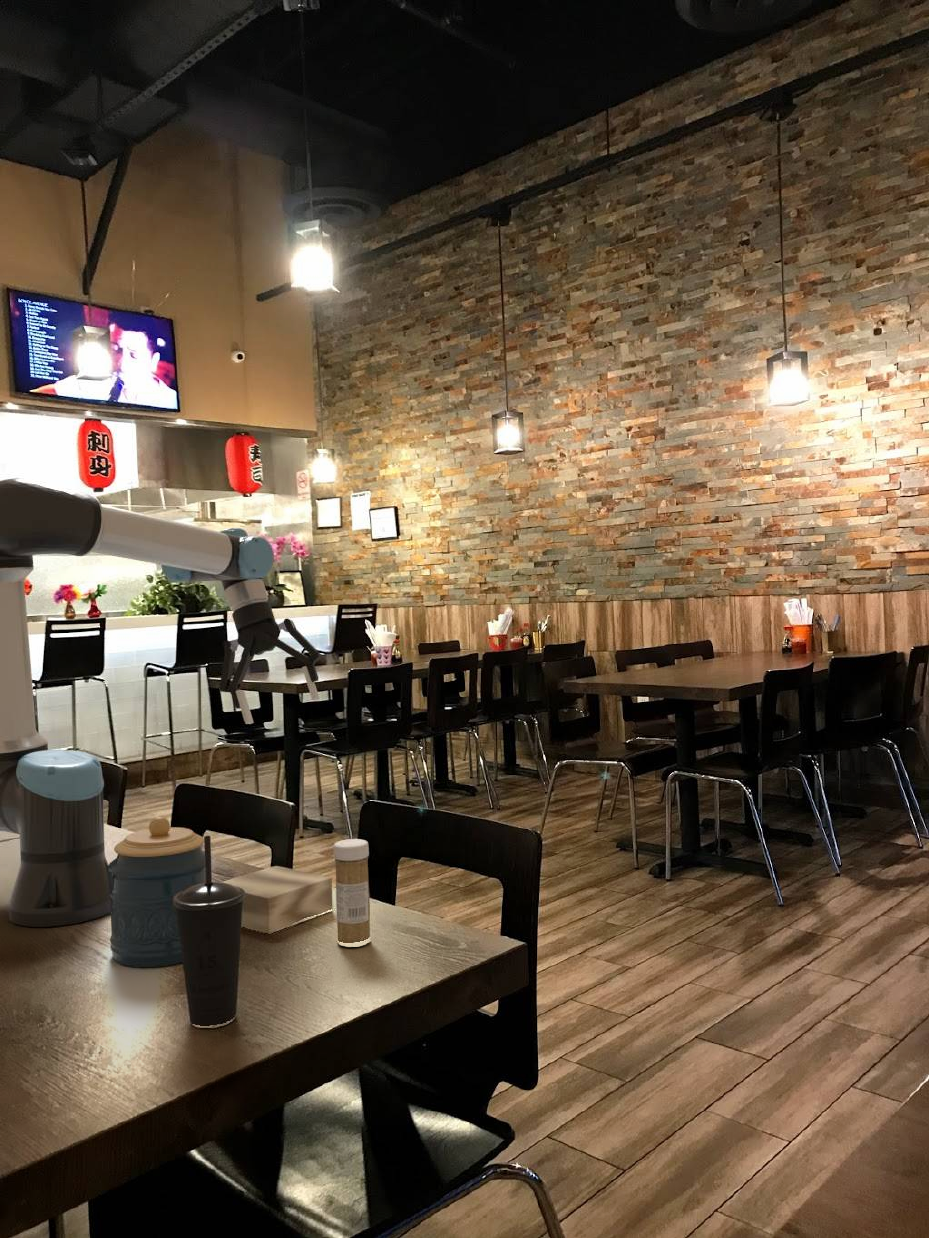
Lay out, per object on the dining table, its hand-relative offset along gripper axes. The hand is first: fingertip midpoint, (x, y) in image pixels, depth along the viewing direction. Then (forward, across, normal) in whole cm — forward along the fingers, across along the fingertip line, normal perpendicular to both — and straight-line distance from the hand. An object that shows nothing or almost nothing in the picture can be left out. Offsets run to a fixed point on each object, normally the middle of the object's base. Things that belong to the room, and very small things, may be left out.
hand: (282, 711), depth 187 cm
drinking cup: (+39, -4, +75) cm, 84 cm away
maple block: (+33, -1, +40) cm, 52 cm away
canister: (+32, +9, +55) cm, 64 cm away
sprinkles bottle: (+39, -14, +51) cm, 65 cm away
